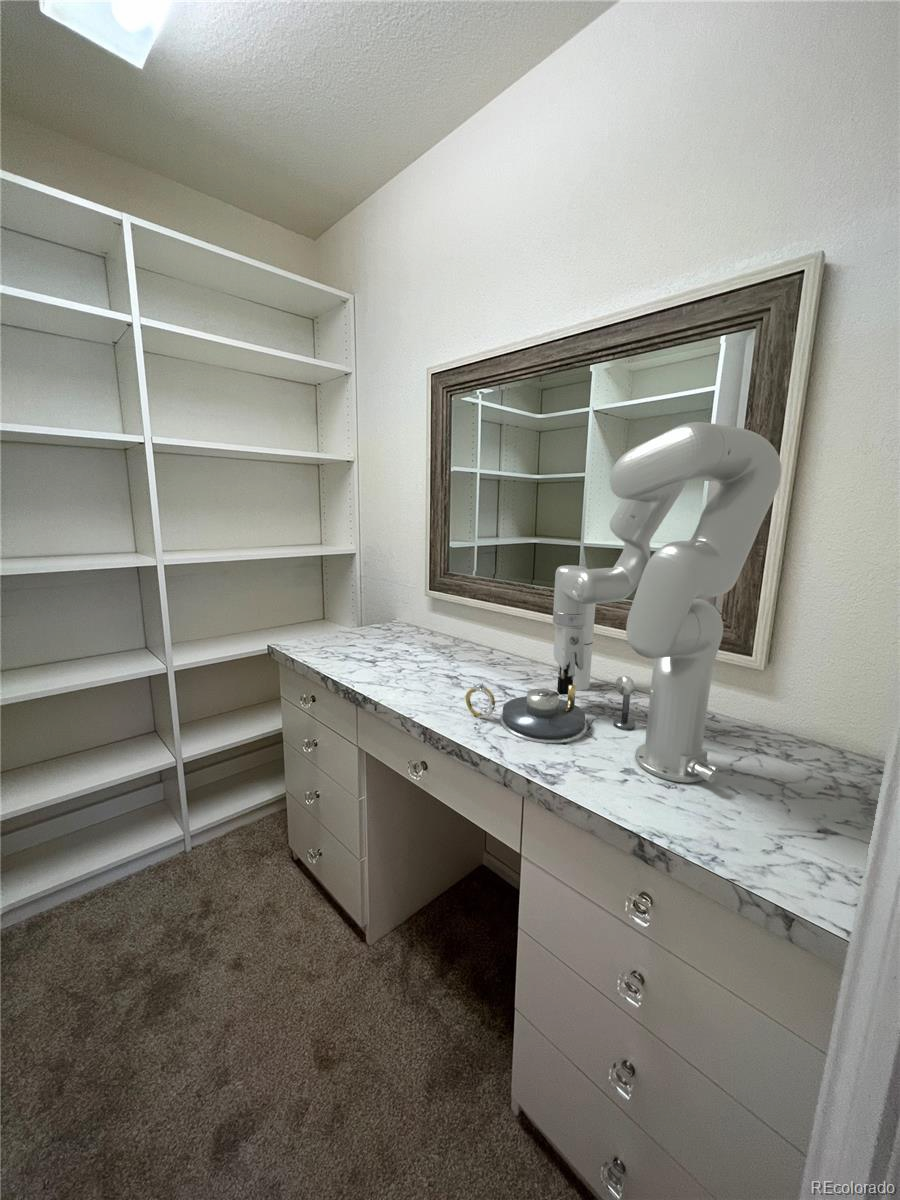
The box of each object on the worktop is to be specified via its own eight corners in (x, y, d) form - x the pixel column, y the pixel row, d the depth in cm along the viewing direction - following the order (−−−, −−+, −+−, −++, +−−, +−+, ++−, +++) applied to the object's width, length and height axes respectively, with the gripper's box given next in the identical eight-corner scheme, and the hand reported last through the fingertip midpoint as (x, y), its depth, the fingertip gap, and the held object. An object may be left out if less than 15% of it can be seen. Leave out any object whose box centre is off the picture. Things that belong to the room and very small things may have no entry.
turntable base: (605, 733, 100) (606, 732, 100) (530, 750, 92) (530, 748, 92) (552, 701, 117) (552, 699, 117) (485, 712, 109) (485, 711, 109)
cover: (565, 715, 103) (566, 696, 102) (538, 720, 100) (539, 701, 99) (545, 703, 109) (546, 685, 108) (520, 708, 106) (521, 689, 105)
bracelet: (463, 715, 108) (463, 682, 106) (471, 711, 110) (472, 678, 109) (488, 724, 103) (489, 690, 102) (496, 719, 106) (497, 686, 105)
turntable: (602, 730, 100) (605, 699, 99) (531, 745, 93) (533, 712, 92) (551, 699, 116) (553, 672, 115) (488, 710, 109) (489, 682, 108)
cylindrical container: (583, 692, 123) (590, 598, 118) (557, 686, 127) (563, 595, 123) (593, 684, 129) (600, 595, 124) (568, 679, 133) (574, 592, 128)
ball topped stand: (639, 728, 103) (643, 678, 101) (623, 731, 101) (628, 681, 99) (624, 720, 107) (628, 672, 105) (609, 723, 105) (613, 674, 103)
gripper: (595, 626, 102) (589, 706, 105) (576, 612, 117) (571, 682, 120) (561, 626, 102) (556, 705, 105) (546, 612, 116) (542, 682, 120)
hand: (564, 693), depth 113 cm, fingers closed
